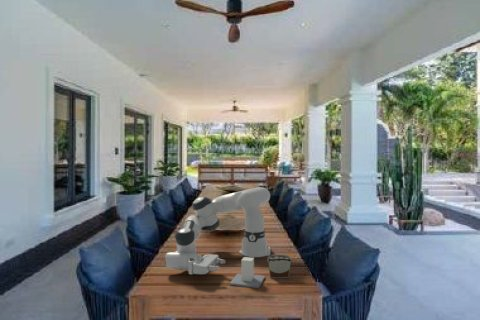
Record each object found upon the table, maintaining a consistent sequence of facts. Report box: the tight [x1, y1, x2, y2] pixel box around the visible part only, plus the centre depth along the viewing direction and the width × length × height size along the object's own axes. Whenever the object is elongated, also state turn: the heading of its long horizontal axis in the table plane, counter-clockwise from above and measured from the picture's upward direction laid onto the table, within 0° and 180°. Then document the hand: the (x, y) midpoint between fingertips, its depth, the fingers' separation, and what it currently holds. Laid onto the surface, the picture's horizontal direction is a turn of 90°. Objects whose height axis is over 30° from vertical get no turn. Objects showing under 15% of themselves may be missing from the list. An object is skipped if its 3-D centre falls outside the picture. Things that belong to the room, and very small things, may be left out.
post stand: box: [229, 272, 266, 289], centre depth 200 cm, size 14×14×8 cm
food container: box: [267, 254, 293, 279], centre depth 208 cm, size 12×6×10 cm, turn 92°
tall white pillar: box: [240, 256, 255, 282], centre depth 200 cm, size 5×5×10 cm
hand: (221, 265), depth 203 cm, fingers open, 8 cm apart
